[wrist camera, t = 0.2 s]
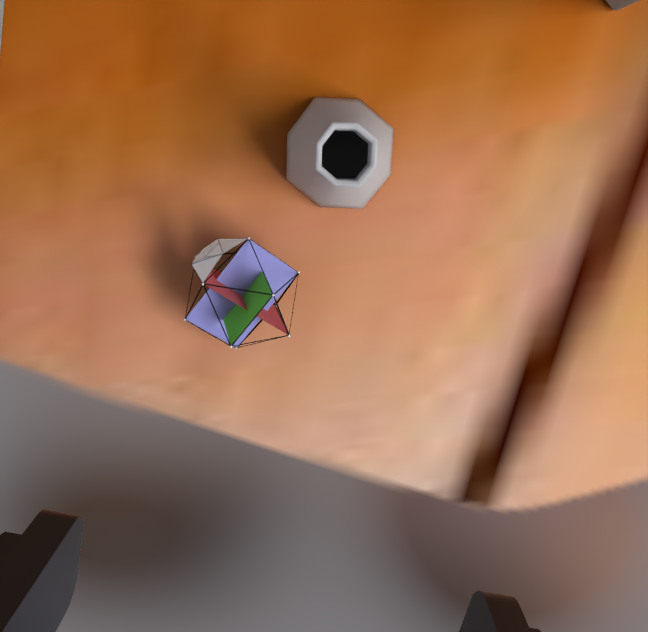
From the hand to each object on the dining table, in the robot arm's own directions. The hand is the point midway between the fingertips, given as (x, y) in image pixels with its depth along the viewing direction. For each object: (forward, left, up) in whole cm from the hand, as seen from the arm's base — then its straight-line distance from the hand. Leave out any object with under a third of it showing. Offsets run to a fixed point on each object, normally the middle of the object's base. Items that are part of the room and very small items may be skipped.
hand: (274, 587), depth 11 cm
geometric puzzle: (+1, -4, -29) cm, 29 cm away
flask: (-9, 0, -29) cm, 31 cm away
